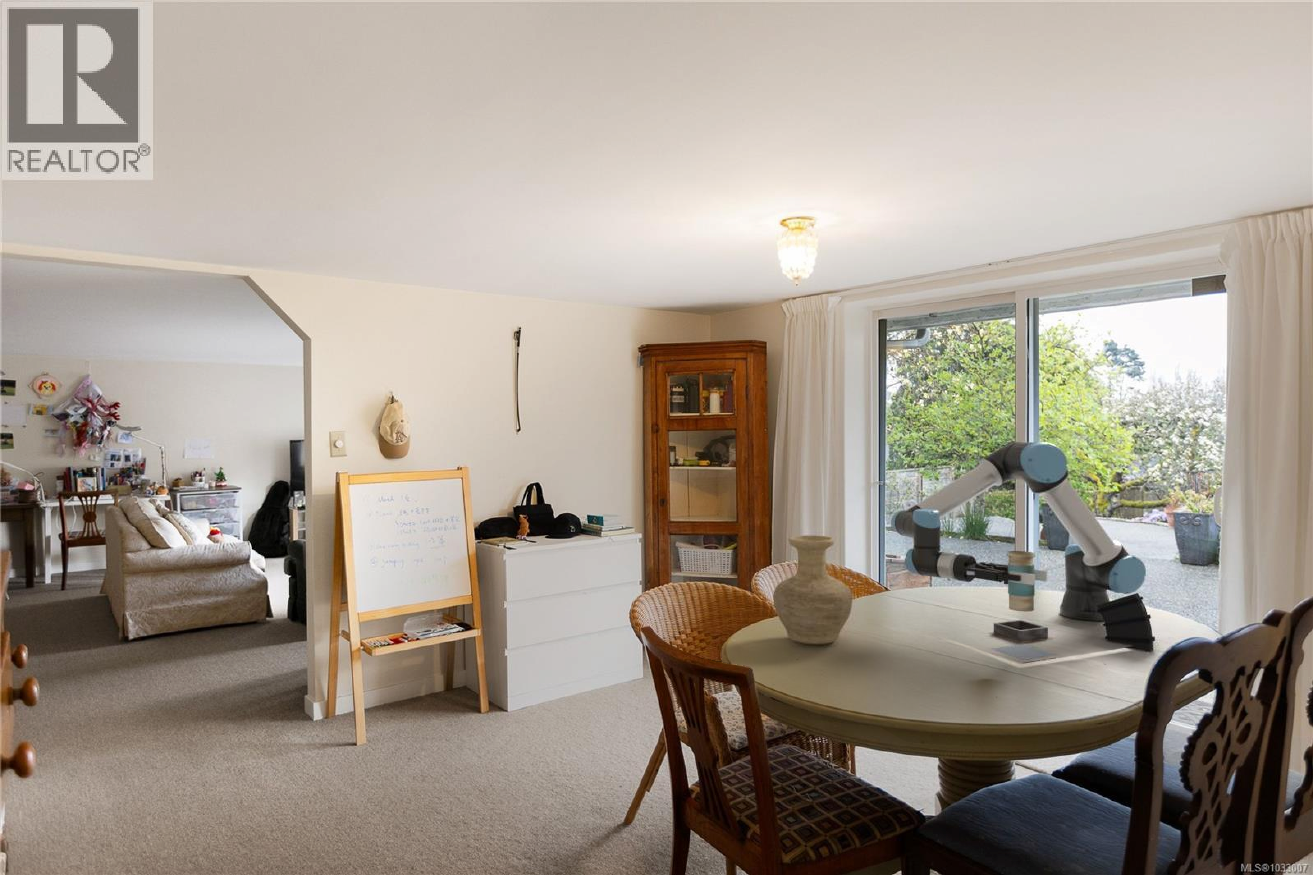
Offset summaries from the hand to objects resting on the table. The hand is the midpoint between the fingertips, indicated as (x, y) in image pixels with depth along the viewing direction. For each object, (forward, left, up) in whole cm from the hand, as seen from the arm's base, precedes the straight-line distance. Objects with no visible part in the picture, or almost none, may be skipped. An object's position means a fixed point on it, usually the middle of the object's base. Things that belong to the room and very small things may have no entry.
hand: (1040, 577), depth 205 cm
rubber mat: (+2, -5, -21) cm, 22 cm away
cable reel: (+2, -5, -9) cm, 10 cm away
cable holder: (-10, -17, -21) cm, 29 cm away
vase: (+45, -39, -22) cm, 63 cm away
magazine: (-30, 0, -22) cm, 37 cm away
